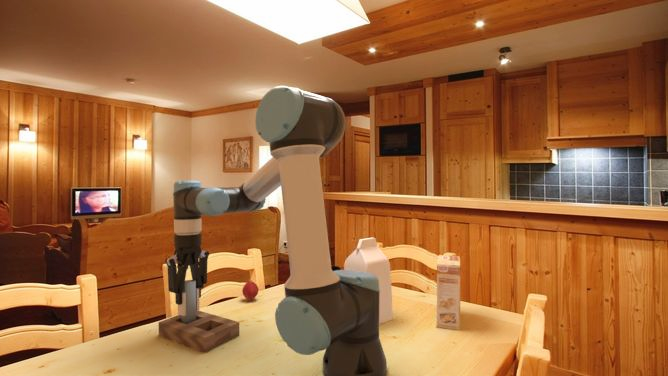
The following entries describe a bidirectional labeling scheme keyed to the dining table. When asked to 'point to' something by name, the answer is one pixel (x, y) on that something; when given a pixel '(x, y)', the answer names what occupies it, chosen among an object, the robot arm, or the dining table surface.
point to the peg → (190, 302)
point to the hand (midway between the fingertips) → (188, 311)
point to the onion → (250, 290)
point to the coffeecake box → (448, 292)
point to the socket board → (200, 331)
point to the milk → (374, 272)
